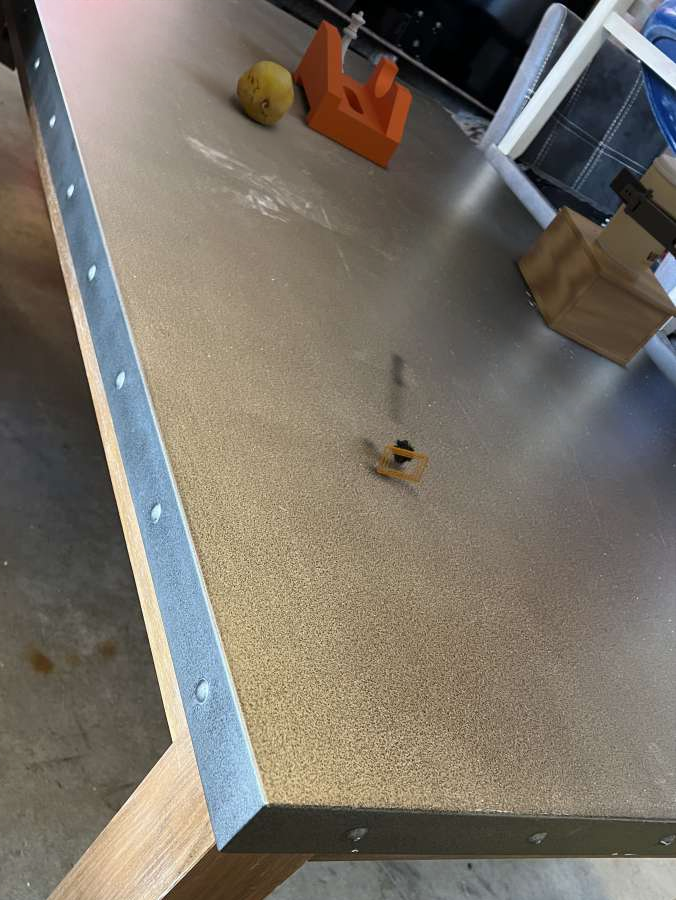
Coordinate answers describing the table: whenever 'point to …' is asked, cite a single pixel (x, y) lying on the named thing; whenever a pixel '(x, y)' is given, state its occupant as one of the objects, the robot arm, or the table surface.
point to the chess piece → (351, 32)
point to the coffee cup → (626, 236)
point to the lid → (617, 265)
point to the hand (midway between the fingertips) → (652, 195)
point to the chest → (586, 297)
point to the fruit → (266, 92)
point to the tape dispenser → (352, 99)
